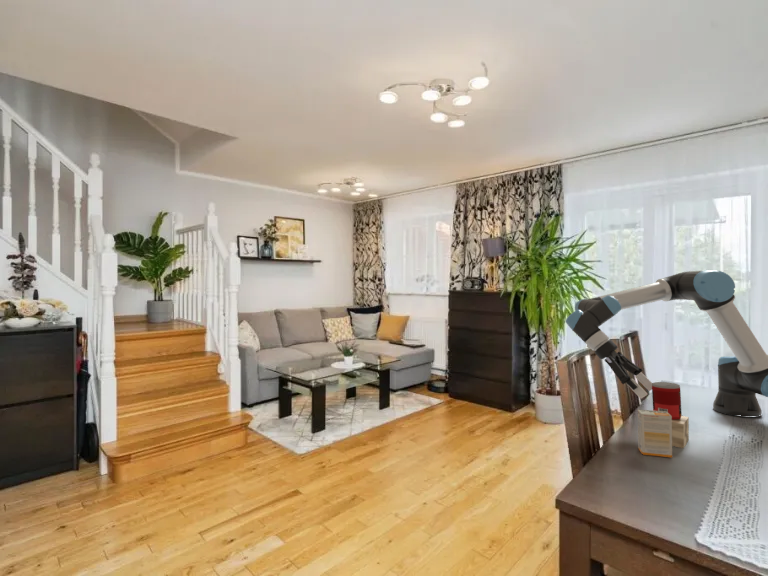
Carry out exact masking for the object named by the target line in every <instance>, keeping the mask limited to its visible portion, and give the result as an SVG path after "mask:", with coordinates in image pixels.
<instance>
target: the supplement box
mask: <svg viewBox="0 0 768 576" xmlns="http://www.w3.org/2000/svg"><path fill="white" fill-rule="evenodd" d="M637 433H638V435H637V437H638V438H637V442H638V443H637V444H638V445H637V446H638V448H637V449H638V451H639V452H640V453H641V454H643V455H644V456H653V457H665V458H670V459H671V458H673V446H672V416H671V415H670V414H669V413H668V412H666V411H653V409H637Z"/></svg>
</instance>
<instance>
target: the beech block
mask: <svg viewBox="0 0 768 576" xmlns="http://www.w3.org/2000/svg"><path fill="white" fill-rule="evenodd" d="M689 422H690V421H689V416H685V415H682V416H681V418H680V419H676V420H672V447H674V446H675V447H676V448H679V449H682V450H683V449H685V447H686V445H687V444H688V442H689V440H690V439H689V438H690V436H689V434H690V433H689V428H690V427H689V426H690V424H689Z"/></svg>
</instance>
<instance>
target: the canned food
mask: <svg viewBox="0 0 768 576" xmlns="http://www.w3.org/2000/svg"><path fill="white" fill-rule="evenodd" d="M681 393H682V392H681V386H680V384H678V383H674V382H667V381H666V382H665V381H655V382H652V390H651V396H652V411H666V412H668V413H669V414H670V415H671V416H672V420H676V419H680V418H681V416H683V415H682V397H681V396H682V395H681Z"/></svg>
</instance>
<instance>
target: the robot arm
mask: <svg viewBox="0 0 768 576" xmlns="http://www.w3.org/2000/svg"><path fill="white" fill-rule="evenodd" d="M735 289H736V284H735V281H734V279H733V278H732V277H731V276H730V275H729V274H728V273H726V272H724V271H722V270H718V269H717V270H715V269H704V270H686V271H683V272H679V273H676V274H673V275H668V276H665V277H663V278H658V279H656V281H655V282H653V283H648V284H644V285H641V286H637V287H633V288H628V289H624V290H621V291H616V292H612V293H607V294H604V295H599V296H596V297H592V298H584V299H583V298H582V299H579V300H577V302H576V303H575V305H574V310H575V311H573V312H572V313H571V314H569V315H568V316H567V318H566V319H565V323H566V325H567V326H568V327H569V328H570V329H571V330H572V332H574V333H575V334H576V335H577V337H579V338H580V339H581V340H582V341H583V343H584V344H585V345H586V348H590V350H591V351H594V354H595V355H596V356H597V357H598V358H599V359H600V360H604V362H605V363H606V364H607V365H608V366H609V368H610V369H611V371H613V373H614V374H615V376H616V377H617V379H618V380H619V382H620V383H621V384H622V385H625V384H626V386H627V387H629V388H630V389H631V390H632V392H634V394H635V395H637V397H639V398H640V400H642V399H644V398H645V397H646V396H647V395H648V394H649V393H648V392H651V391H652V383H653V381H651V380H650V379H649V378H648V377H647V376H646V375H645V374H644V372H643V368H640V367H639V366H638V365H636V364H635V363H633V361H632V360H630V359H629V358H627V357H626V356H625V355H624V354H623V353H622V352H621V351H618V352H616V351H617V350H618V345H617V344H616V343H615V342H614V341H613V340H612V339H610V337H609V336H608V335H607V334H606V333H605V332H604V331H602V330H601V328H599V327H600V326H602V325H603V324H605V323H606V322H607V321H609V320H610V319H612V318H613V317H615V316H616V315H617V314H618V313H619V312H620V311H623V310H626V309H630V308H634V307H639V306H643V305H646V304H650V303H655V302H659V301H662V302H669V301H676V300H678V301H680V300H681V301H682V300H683V301H685V300H686V301H694V303H695V304H696V306H697V308H698V309H699V310H700V311H703V312H707V314H708V316H709V318H710V319H711V320H712V322H713V323H714V325H715V327H716V329H717V330H718V331H719V334H720V335H721V336H722V338H723V339H724V341H725V342H726V344H727V345H728V347H729V348H730V350H731V352H732V353H733V355H734V356H721V357H719V358H718V360H717V361H718V362H717V363H718V364H717V375H718V377H717V378H718V381H717V382H718V383H717V385H718V387H717V388H718V389H717V390H718V391H717V394H716V396H715V398H714V400H713V403H712V408H713V410H714V411H716V412H718V413H721V414H724V415H729V416H733V415H741V416H759V415H761V414H762V407H761V405H760V402H759V400H758V398H757V396H756V395H760V396H764V397H765V398H766V397H767V398H768V354H767V353H766V351H765V350H764V348H763V347H762V345H761V343H760V342H759V341H758V339H757V338H756V336H755V335H754V333H753V331H752V330H751V328H750V326H749V325H748V324H747V321H746V320H745V319H744V317H743V316H742V314H741V312H740V311H739V309H738V308H737V307H736V305H735V303H734V301H735V299H736V296H735V292H736V290H735ZM628 372H629V373H630V374H632V375H634V378H636V380H635V379H634V378H631V376H630V374H629V373H628ZM637 381H639V383H640V384H641V385H642V386H643V387H644V388H645V389H646V390H647V391H648V392H646V390H645V389H644V388H643V387H642V386H641V385H639V383H638V382H637Z"/></svg>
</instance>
